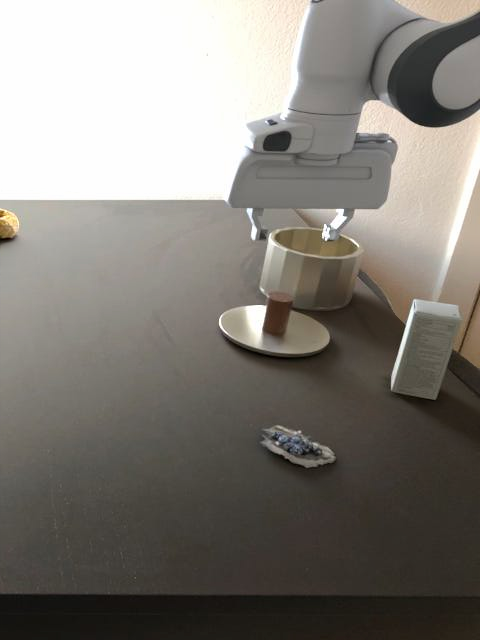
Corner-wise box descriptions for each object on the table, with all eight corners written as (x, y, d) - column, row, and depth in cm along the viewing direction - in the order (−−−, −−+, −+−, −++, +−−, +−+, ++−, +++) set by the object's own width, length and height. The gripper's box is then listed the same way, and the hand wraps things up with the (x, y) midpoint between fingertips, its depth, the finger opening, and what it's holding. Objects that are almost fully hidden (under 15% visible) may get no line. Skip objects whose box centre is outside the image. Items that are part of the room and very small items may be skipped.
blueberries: (261, 424, 85) (264, 410, 84) (336, 440, 82) (340, 426, 81) (256, 457, 79) (259, 443, 78) (336, 475, 77) (340, 461, 76)
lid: (305, 313, 111) (314, 276, 108) (345, 361, 98) (357, 321, 95) (206, 312, 111) (213, 274, 108) (234, 360, 98) (242, 319, 95)
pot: (329, 276, 124) (342, 227, 119) (365, 311, 112) (380, 258, 108) (248, 275, 123) (258, 226, 119) (275, 310, 112) (286, 257, 107)
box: (434, 385, 93) (462, 305, 88) (436, 401, 90) (465, 319, 84) (388, 375, 95) (413, 297, 90) (388, 391, 92) (414, 311, 86)
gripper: (389, 127, 93) (362, 232, 100) (228, 126, 93) (211, 231, 100) (414, 139, 88) (383, 248, 95) (242, 137, 88) (224, 247, 95)
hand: (293, 239), depth 97 cm, fingers open, 8 cm apart
